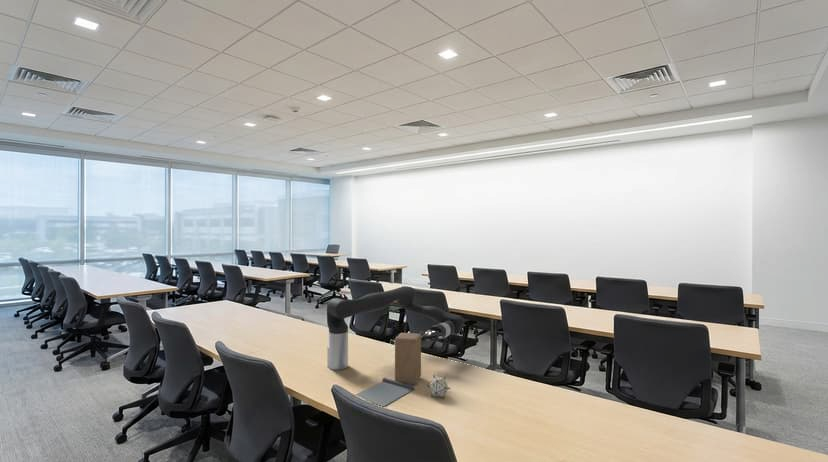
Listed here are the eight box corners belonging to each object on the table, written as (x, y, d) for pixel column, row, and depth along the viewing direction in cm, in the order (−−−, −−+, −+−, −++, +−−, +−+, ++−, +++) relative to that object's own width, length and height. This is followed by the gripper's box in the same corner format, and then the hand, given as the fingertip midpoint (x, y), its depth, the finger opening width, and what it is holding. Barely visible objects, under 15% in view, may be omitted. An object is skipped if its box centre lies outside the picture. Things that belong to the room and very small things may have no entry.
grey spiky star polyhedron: (442, 404, 155) (457, 383, 156) (437, 405, 148) (452, 383, 149) (425, 389, 159) (439, 369, 160) (419, 389, 152) (434, 368, 153)
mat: (352, 396, 154) (352, 393, 154) (384, 381, 170) (384, 377, 170) (383, 407, 145) (383, 403, 145) (414, 389, 161) (414, 386, 161)
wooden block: (416, 385, 165) (416, 339, 165) (394, 383, 167) (394, 337, 167) (421, 377, 175) (421, 333, 175) (400, 375, 177) (400, 332, 177)
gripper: (429, 322, 197) (409, 329, 183) (451, 325, 190) (432, 333, 176) (429, 336, 197) (409, 344, 183) (451, 340, 190) (432, 349, 176)
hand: (420, 339), depth 179 cm, fingers closed
